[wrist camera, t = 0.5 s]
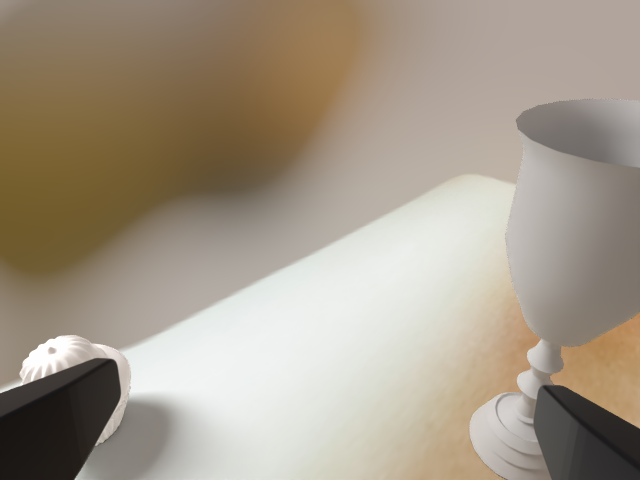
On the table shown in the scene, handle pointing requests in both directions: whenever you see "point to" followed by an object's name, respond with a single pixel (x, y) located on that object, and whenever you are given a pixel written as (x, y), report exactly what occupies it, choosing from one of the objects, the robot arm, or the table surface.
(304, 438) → the table surface
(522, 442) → the chalice
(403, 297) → the table surface
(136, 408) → the table surface
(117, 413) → the muffin
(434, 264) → the table surface
